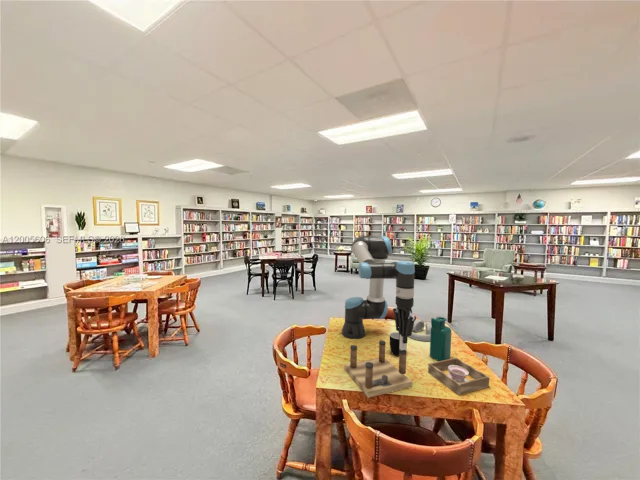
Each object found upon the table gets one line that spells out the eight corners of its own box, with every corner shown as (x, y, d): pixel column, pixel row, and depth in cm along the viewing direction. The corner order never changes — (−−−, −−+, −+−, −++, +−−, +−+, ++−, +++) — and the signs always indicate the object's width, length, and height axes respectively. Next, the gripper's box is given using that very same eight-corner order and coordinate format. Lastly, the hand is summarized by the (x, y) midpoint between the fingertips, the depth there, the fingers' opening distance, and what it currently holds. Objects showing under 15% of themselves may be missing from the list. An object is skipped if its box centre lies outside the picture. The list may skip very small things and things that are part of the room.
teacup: (478, 386, 115) (478, 372, 115) (463, 395, 109) (463, 380, 108) (452, 372, 125) (452, 360, 125) (437, 380, 119) (437, 367, 119)
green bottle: (437, 352, 145) (438, 313, 144) (451, 358, 138) (453, 318, 137) (426, 357, 140) (428, 317, 138) (441, 364, 133) (443, 322, 131)
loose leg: (396, 370, 116) (397, 349, 115) (402, 369, 117) (403, 348, 116) (401, 374, 113) (402, 352, 112) (407, 373, 114) (408, 351, 113)
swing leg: (367, 389, 107) (368, 366, 107) (363, 384, 110) (364, 362, 110) (389, 383, 111) (389, 362, 110) (384, 379, 114) (385, 358, 113)
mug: (400, 359, 137) (401, 340, 137) (386, 353, 143) (386, 335, 143) (411, 351, 146) (412, 334, 145) (396, 346, 152) (397, 329, 151)
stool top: (345, 369, 127) (345, 344, 126) (383, 361, 134) (384, 338, 133) (367, 397, 106) (368, 368, 105) (411, 387, 113) (412, 359, 113)
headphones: (412, 325, 182) (401, 339, 167) (412, 315, 180) (400, 327, 165) (440, 333, 170) (430, 348, 155) (440, 322, 169) (430, 336, 154)
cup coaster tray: (428, 372, 125) (428, 363, 125) (455, 366, 131) (456, 357, 131) (458, 395, 108) (459, 384, 108) (488, 386, 114) (489, 377, 114)
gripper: (388, 293, 118) (387, 344, 119) (407, 301, 106) (405, 357, 107) (402, 292, 120) (400, 341, 122) (422, 300, 108) (420, 354, 109)
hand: (403, 349), depth 114 cm, fingers closed
